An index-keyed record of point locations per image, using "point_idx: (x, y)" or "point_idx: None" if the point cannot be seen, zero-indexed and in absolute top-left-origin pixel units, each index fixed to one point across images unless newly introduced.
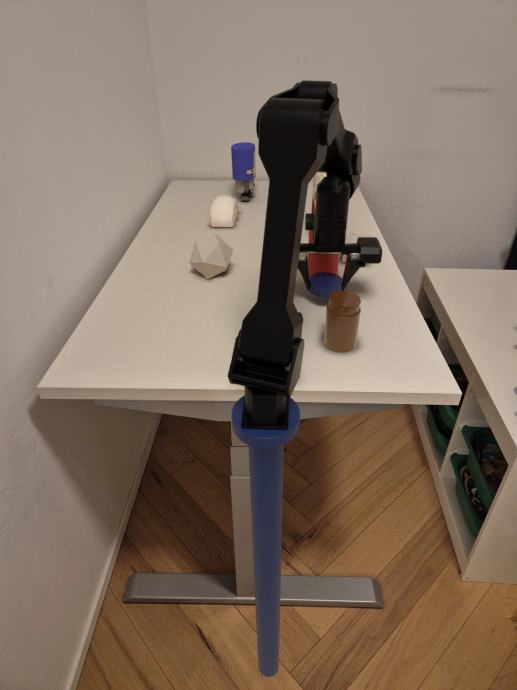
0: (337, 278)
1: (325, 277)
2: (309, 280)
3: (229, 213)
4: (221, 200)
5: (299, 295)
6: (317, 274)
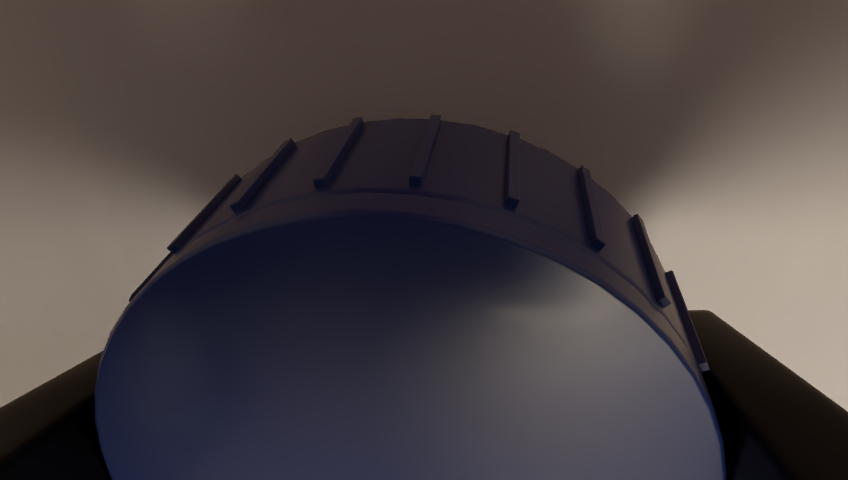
0: (620, 452)
1: (374, 423)
2: (122, 473)
3: None
4: None
5: (129, 156)
6: (195, 329)
